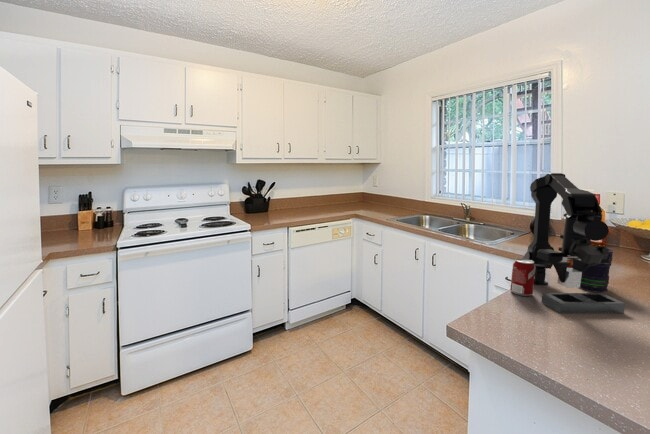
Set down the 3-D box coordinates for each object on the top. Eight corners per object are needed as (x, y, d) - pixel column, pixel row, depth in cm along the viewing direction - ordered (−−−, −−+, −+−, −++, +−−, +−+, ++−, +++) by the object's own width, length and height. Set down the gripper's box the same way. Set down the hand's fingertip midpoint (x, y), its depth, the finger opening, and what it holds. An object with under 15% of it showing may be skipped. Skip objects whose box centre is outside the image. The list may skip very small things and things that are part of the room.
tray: (541, 302, 104) (542, 293, 104) (600, 302, 104) (602, 293, 104) (559, 313, 96) (561, 303, 96) (623, 313, 97) (625, 303, 96)
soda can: (521, 298, 107) (525, 264, 106) (505, 290, 114) (508, 258, 112) (537, 296, 109) (541, 262, 107) (520, 289, 116) (523, 257, 114)
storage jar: (615, 292, 113) (621, 252, 111) (587, 292, 113) (593, 251, 111) (592, 282, 123) (597, 245, 121) (566, 282, 123) (571, 245, 121)
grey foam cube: (567, 287, 97) (569, 272, 96) (557, 282, 101) (559, 267, 100) (579, 287, 97) (582, 272, 97) (569, 282, 101) (571, 267, 101)
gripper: (565, 239, 89) (558, 292, 91) (630, 239, 89) (622, 292, 91) (538, 231, 100) (533, 278, 102) (596, 231, 100) (589, 278, 102)
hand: (568, 282), depth 99 cm, fingers closed on grey foam cube, 4 cm apart
